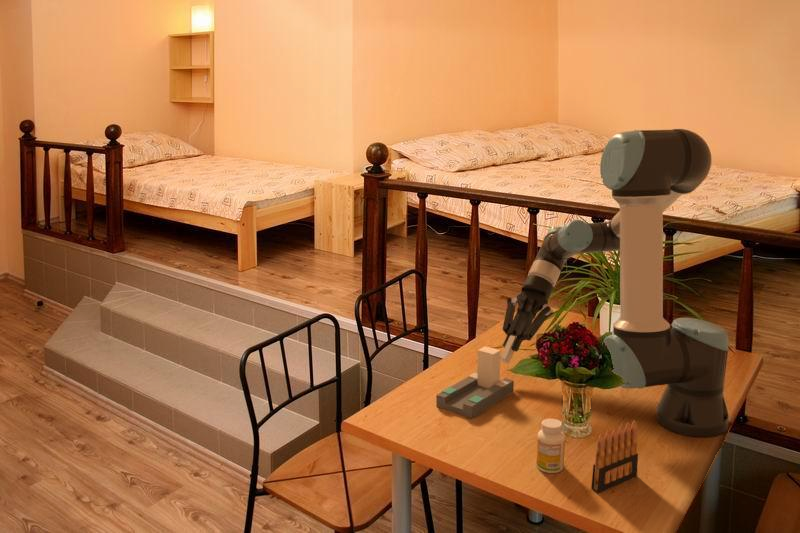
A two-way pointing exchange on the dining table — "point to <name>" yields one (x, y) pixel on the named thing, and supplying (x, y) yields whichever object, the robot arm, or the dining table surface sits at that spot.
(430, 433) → the dining table surface
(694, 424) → the robot arm
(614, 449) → the ammunition clip
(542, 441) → the supplement bottle
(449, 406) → the switch base
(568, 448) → the dining table surface
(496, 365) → the switch tab
